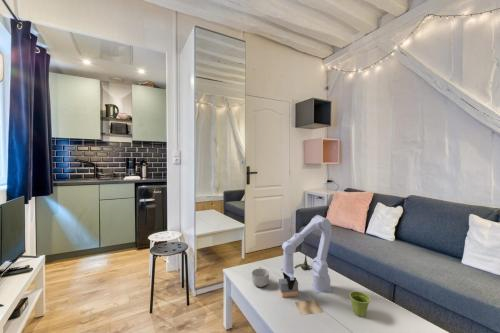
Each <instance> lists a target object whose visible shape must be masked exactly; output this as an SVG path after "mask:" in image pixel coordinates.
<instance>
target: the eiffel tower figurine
mask: <svg viewBox="0 0 500 333" xmlns="http://www.w3.org/2000/svg"><path fill="white" fill-rule="evenodd" d="M304 252H305V253H304V254H305V255H304V262H303V263H298V264H296V265H295V266H293V269H297V268H299V267H300V268H301V270H302V271H311V269H312V268H311V265H310V264H308V260H307V251H304Z"/></svg>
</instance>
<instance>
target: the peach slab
mask: <svg viewBox="0 0 500 333" xmlns="http://www.w3.org/2000/svg"><path fill="white" fill-rule="evenodd" d="M279 293H280V295H281V297H282V298H283V299H285V298H292V297H298V295H299V290H298V291H291V292H281V291H280V290H279Z"/></svg>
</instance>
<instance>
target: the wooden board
mask: <svg viewBox="0 0 500 333" xmlns="http://www.w3.org/2000/svg"><path fill="white" fill-rule="evenodd" d="M294 303H295V305H296V307H297V309H298V311H299V314H300V316H304V315H312V314H313V315H314V314H319V313H320V314H322V313H324V311H323V309H322V307H321V306H320V304H319V303H318V301H317V300H316V299H311V300H310V299H309V300H302V301H295V302H294Z"/></svg>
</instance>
